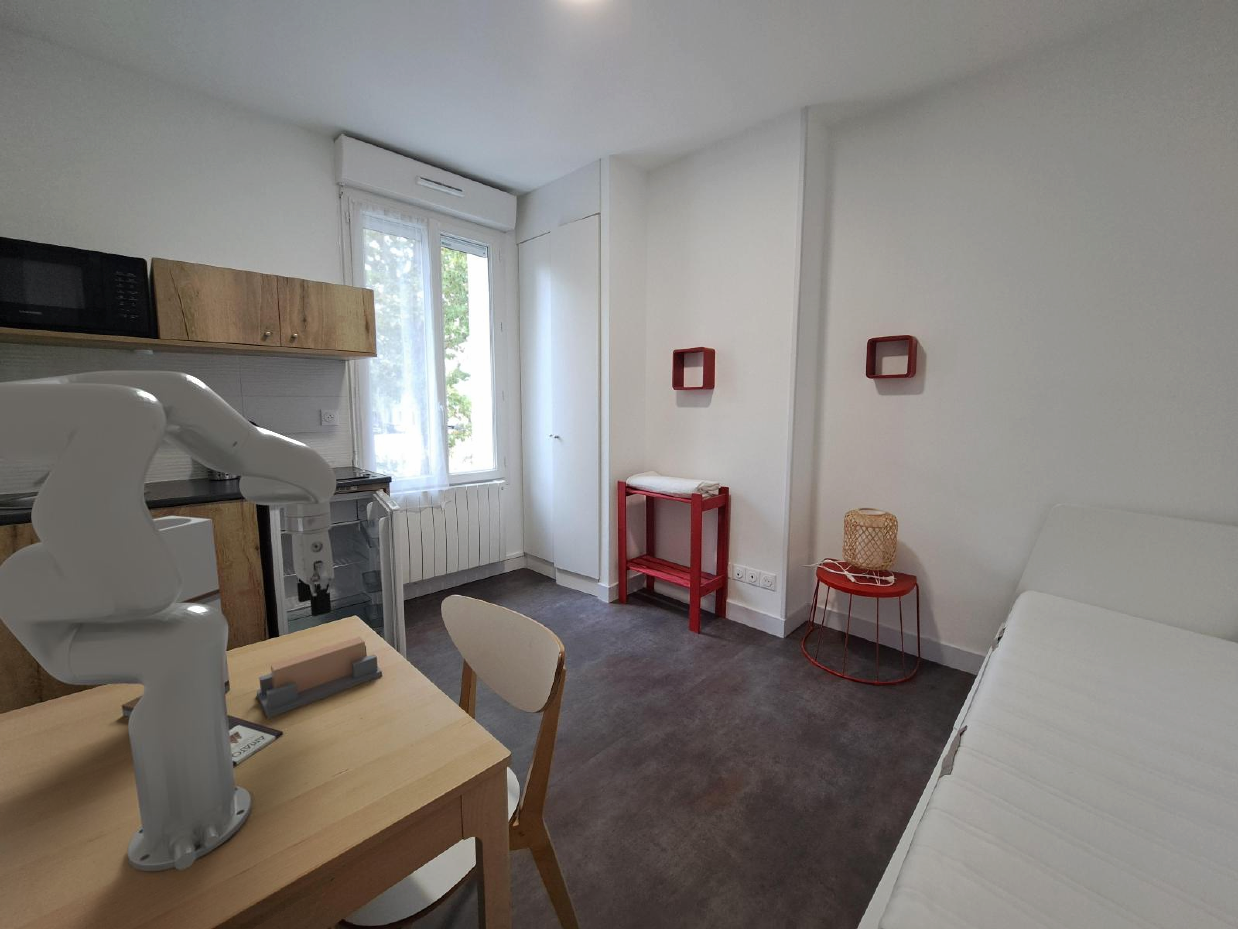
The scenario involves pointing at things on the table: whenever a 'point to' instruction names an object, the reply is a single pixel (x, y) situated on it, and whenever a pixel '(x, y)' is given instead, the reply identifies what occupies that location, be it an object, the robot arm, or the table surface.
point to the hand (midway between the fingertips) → (314, 607)
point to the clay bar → (318, 665)
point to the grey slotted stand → (289, 698)
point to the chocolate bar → (248, 738)
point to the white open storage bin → (191, 568)
